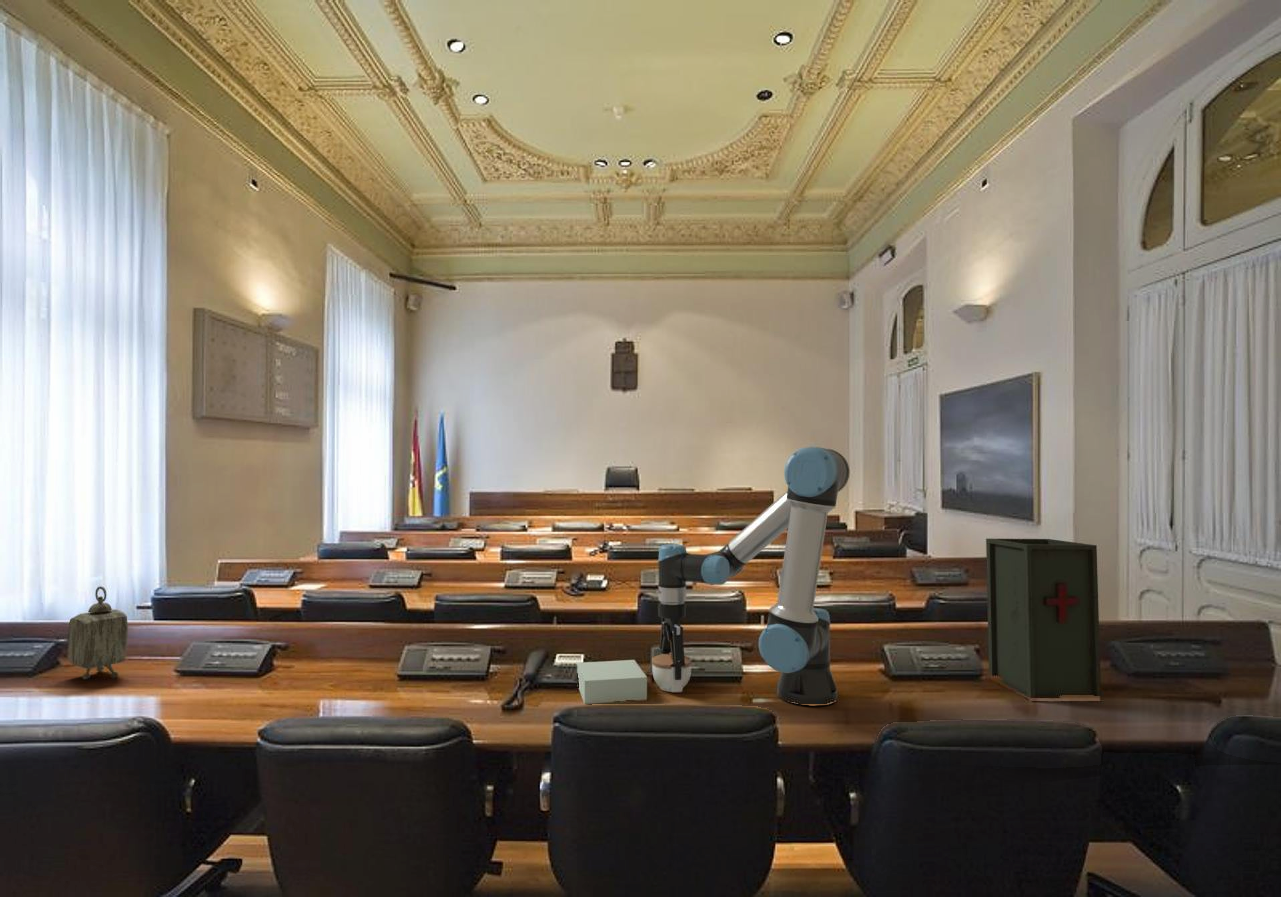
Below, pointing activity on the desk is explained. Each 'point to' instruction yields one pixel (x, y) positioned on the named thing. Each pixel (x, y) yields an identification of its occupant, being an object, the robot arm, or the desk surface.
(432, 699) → the desk surface
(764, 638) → the robot arm
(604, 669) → the sage block
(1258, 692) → the desk surface
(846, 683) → the desk surface
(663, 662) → the lidded jar
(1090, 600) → the first aid box
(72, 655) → the tabletop clock
